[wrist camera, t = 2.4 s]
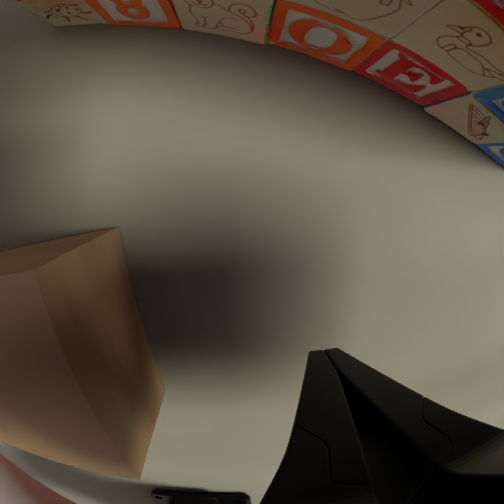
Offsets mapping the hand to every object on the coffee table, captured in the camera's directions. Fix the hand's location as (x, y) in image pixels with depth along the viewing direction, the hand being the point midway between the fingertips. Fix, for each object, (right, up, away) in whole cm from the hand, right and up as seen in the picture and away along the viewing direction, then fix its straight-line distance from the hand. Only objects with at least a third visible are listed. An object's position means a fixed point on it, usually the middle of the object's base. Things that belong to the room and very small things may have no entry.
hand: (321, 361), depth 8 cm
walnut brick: (-11, 0, +2) cm, 11 cm away
